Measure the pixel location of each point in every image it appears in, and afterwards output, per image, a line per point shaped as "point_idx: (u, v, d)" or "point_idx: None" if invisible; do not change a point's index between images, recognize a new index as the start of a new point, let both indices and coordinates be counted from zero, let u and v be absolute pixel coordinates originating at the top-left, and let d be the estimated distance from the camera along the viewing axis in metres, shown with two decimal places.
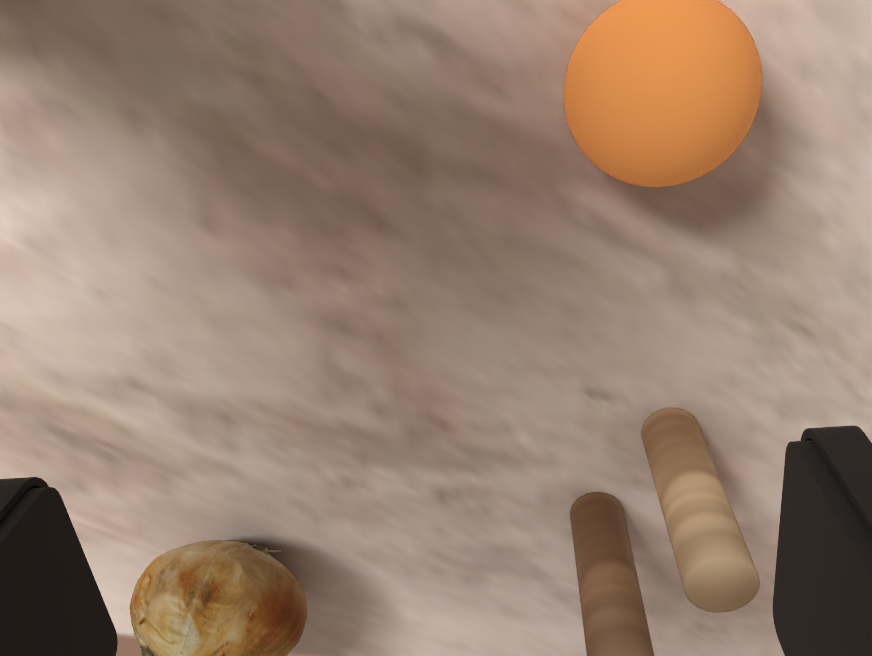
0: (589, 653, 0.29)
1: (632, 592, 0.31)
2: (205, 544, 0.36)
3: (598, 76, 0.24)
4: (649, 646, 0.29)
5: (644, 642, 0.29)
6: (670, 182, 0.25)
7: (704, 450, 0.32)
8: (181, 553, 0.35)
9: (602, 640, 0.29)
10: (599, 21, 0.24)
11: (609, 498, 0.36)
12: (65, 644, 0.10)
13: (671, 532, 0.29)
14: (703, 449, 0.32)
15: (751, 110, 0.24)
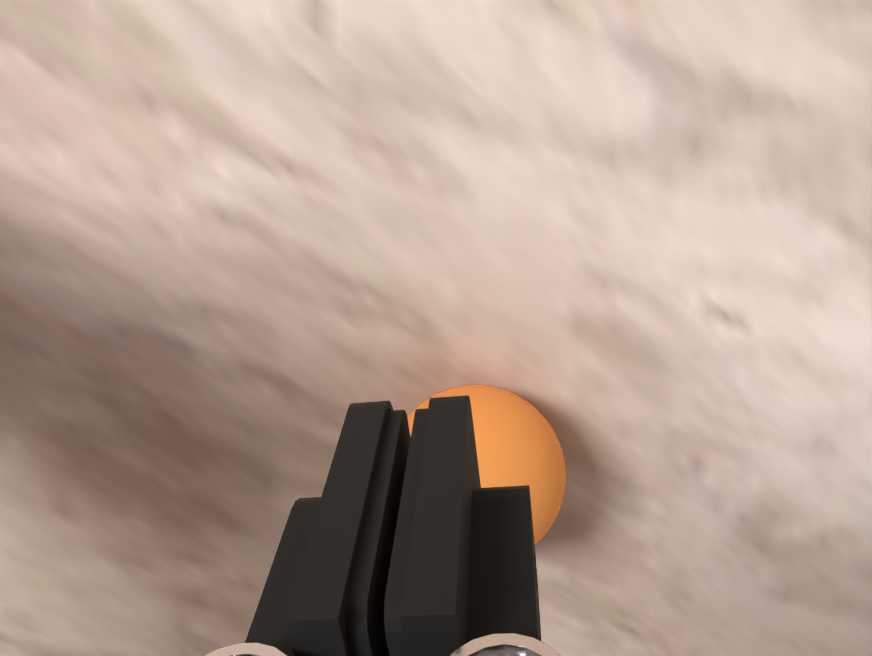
0: None
1: None
2: None
3: None
4: None
5: None
6: None
7: None
8: None
9: None
10: None
11: None
12: None
13: None
14: None
15: (549, 520, 0.25)
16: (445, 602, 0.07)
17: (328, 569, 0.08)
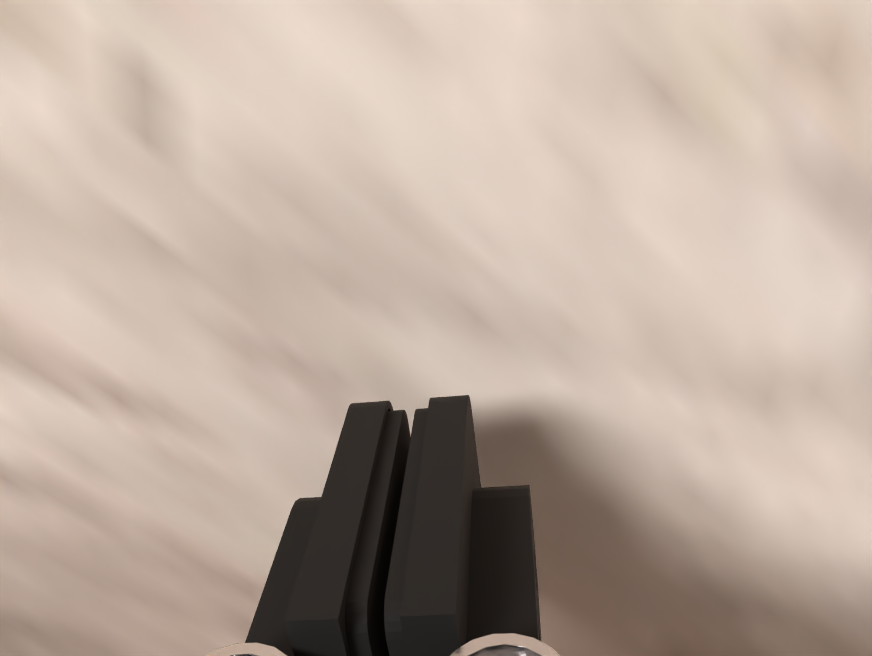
0: None
1: None
2: None
3: None
4: None
5: None
6: None
7: None
8: None
9: None
10: None
11: None
12: None
13: None
14: None
15: None
16: (445, 602, 0.07)
17: (328, 569, 0.08)
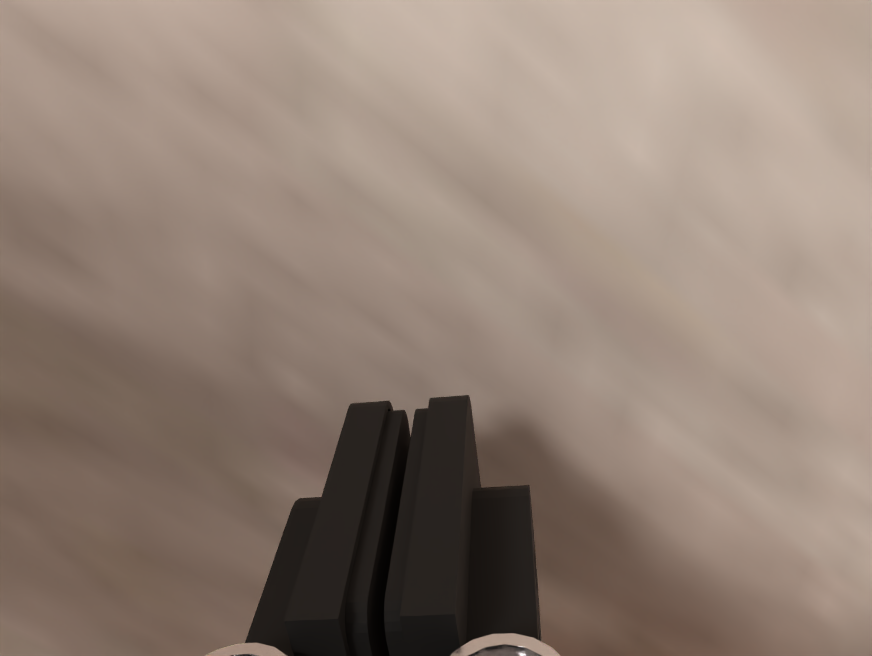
0: None
1: None
2: None
3: None
4: None
5: None
6: None
7: None
8: None
9: None
10: None
11: None
12: None
13: None
14: None
15: None
16: (444, 602, 0.07)
17: (328, 569, 0.08)
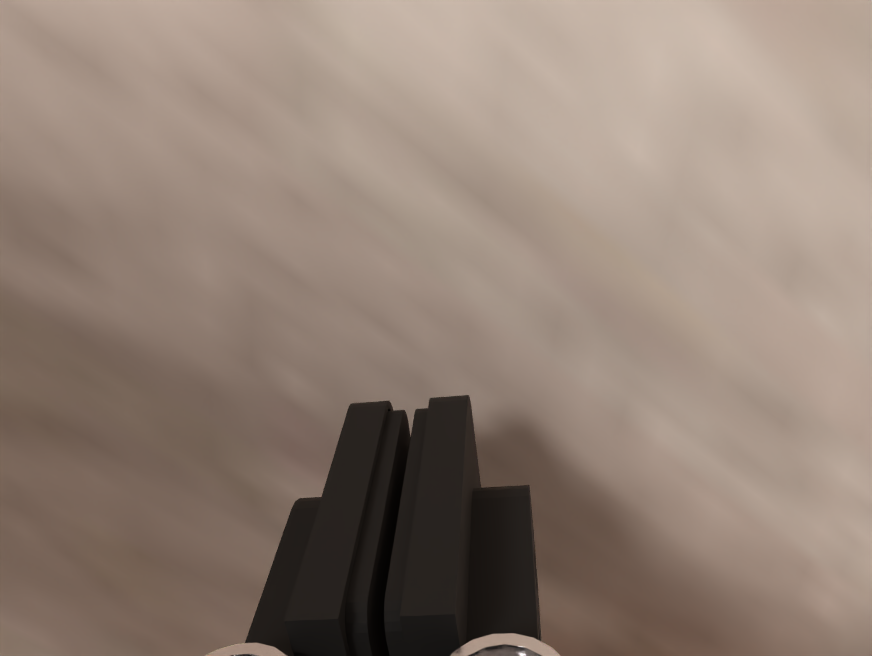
0: None
1: None
2: None
3: None
4: None
5: None
6: None
7: None
8: None
9: None
10: None
11: None
12: None
13: None
14: None
15: None
16: (444, 602, 0.07)
17: (328, 569, 0.08)
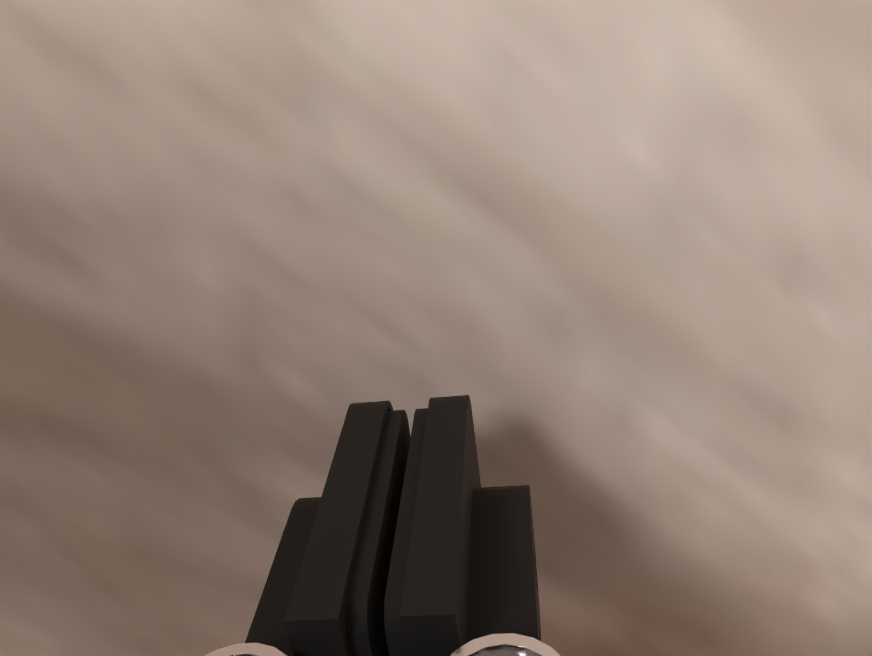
0: None
1: None
2: None
3: None
4: None
5: None
6: None
7: None
8: None
9: None
10: None
11: None
12: None
13: None
14: None
15: None
16: (444, 602, 0.07)
17: (328, 569, 0.08)
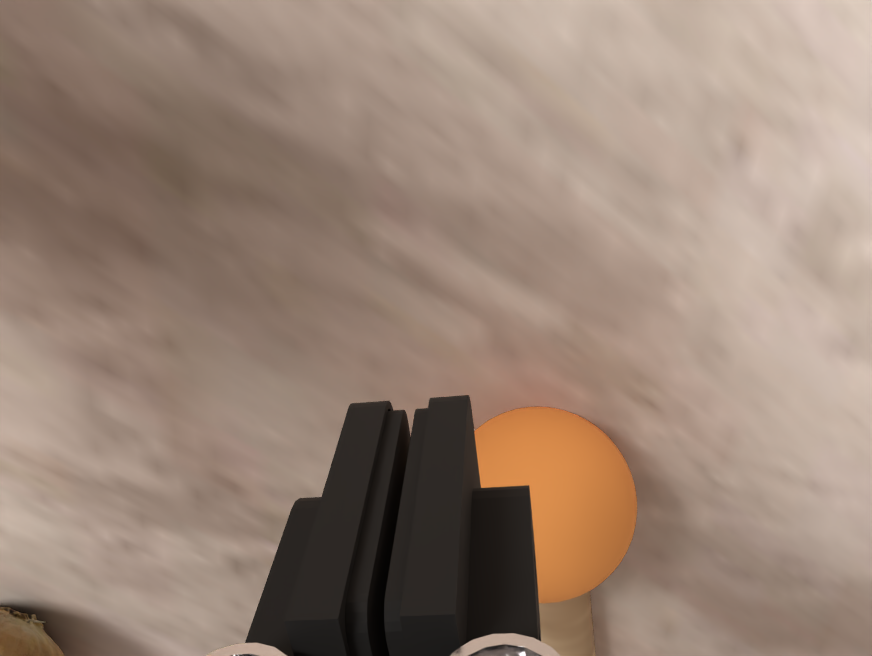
0: None
1: None
2: None
3: None
4: None
5: None
6: (515, 434, 0.24)
7: None
8: None
9: None
10: None
11: None
12: None
13: None
14: None
15: (590, 422, 0.25)
16: (444, 601, 0.07)
17: (328, 569, 0.08)
